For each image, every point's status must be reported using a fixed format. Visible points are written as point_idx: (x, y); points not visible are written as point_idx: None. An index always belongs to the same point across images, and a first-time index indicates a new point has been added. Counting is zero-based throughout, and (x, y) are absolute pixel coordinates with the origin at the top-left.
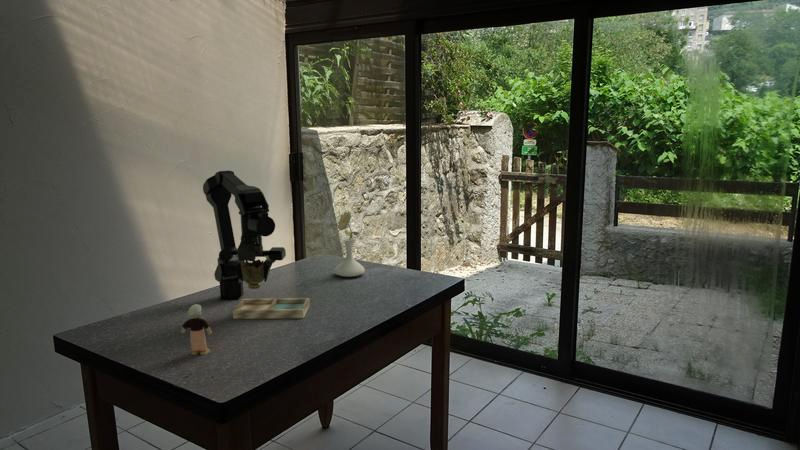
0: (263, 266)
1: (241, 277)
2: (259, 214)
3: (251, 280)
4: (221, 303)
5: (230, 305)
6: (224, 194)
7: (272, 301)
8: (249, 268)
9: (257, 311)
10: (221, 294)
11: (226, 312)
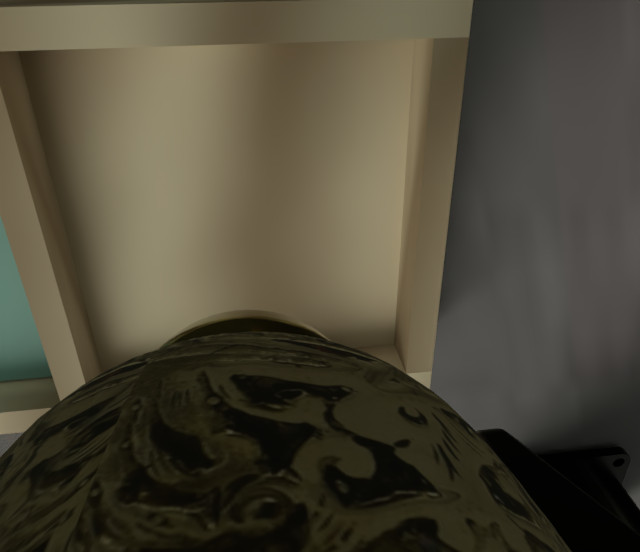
0: None
1: (548, 495)
2: None
3: (220, 351)
4: (598, 388)
5: (522, 355)
6: None
7: None
8: None
9: (123, 2)
10: (622, 496)
11: (535, 188)
